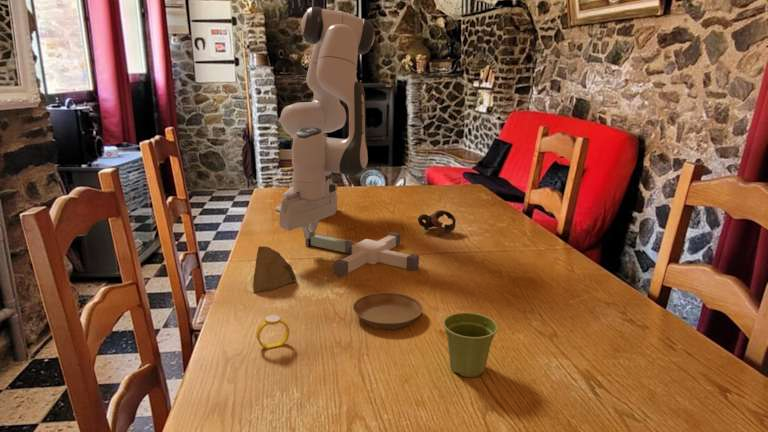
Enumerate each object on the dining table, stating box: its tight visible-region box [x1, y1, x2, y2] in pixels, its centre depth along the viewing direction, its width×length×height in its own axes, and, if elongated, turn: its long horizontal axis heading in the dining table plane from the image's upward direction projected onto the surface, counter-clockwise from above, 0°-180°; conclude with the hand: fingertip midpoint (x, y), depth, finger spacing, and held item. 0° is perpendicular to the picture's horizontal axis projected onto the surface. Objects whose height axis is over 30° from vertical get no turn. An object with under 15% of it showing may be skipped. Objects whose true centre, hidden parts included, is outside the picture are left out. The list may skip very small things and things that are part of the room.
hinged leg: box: [311, 233, 354, 255], centre depth 149 cm, size 14×2×3 cm, turn 61°
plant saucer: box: [352, 292, 423, 330], centre depth 110 cm, size 15×15×3 cm
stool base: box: [333, 231, 420, 277], centre depth 141 cm, size 20×29×4 cm
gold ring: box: [255, 314, 291, 350], centre depth 98 cm, size 6×3×6 cm, turn 115°
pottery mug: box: [417, 209, 457, 238], centre depth 166 cm, size 12×10×8 cm
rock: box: [252, 245, 298, 294], centre depth 124 cm, size 11×9×10 cm
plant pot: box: [442, 311, 499, 378], centre depth 91 cm, size 9×9×9 cm
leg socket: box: [304, 233, 326, 248], centre depth 153 cm, size 5×5×3 cm
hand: (309, 237), depth 144 cm, fingers closed
